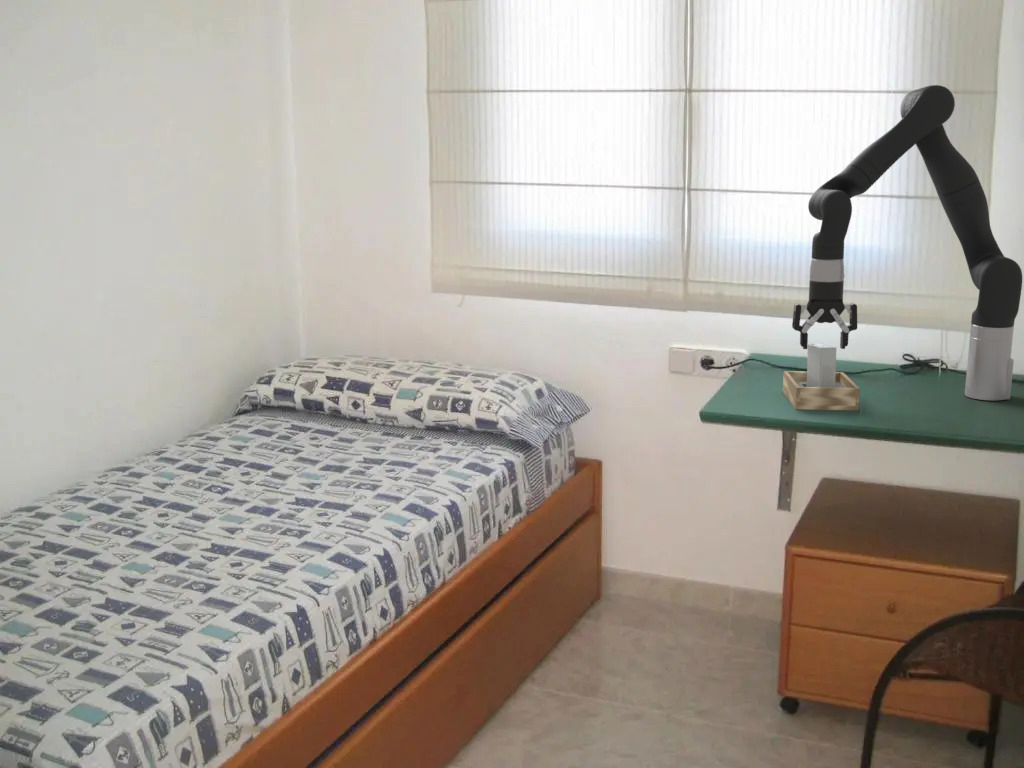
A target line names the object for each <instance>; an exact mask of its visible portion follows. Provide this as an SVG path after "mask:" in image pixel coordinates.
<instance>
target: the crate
mask: <svg viewBox="0 0 1024 768" xmlns="http://www.w3.org/2000/svg"><path fill="white" fill-rule="evenodd" d="M782 393H783V395H784V396H785V397H786V398H787V400H788V401H789V403H790V404H791V405H792V407H793V408H794V410H816V411H817V410H820V411H860V410H859V408H860V393H861V388H860V387H859V386H858V385H857V384H856V383H855V382H854V381H853V380H852V379H851V378H850V377H849V376H848V375H846V373H845V372H843V371H842V372H841V371H836V375H835V388H833V387H807V371H799V370H797V371H796V370H795V371H790V370H787V371H786V370H784V371H783V377H782Z"/></svg>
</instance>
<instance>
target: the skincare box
mask: <svg viewBox="0 0 1024 768" xmlns="http://www.w3.org/2000/svg"><path fill="white" fill-rule="evenodd" d="M806 360H807V363H806V365H807V366H806V372H807V387H833V388H835V375H836V372H837V370H836V368H837V347H836V346H832V345H830V344H827V343H824V342H821V343H820V342H818V343H809V344H807V359H806Z"/></svg>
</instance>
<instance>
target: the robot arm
mask: <svg viewBox="0 0 1024 768" xmlns="http://www.w3.org/2000/svg"><path fill="white" fill-rule="evenodd" d="M955 104H956V101H955V96H954V95H953V92H952V91H950V89H949V88H947V87H945V86H943V85H938V84H936V85H935V84H933V85H928V86H924V87H921V88H918V89H915V90H911V91H909V92H908V93H906V95H905V96H904V97H903V98H902V101H901V104H900V116H901V120H900V121H898V123H896V125H893V127H892V128H891V129H889V130H888V131H887V132H885V133H884V134H883V135H882V136H880V137H879V138H877V139H876V140H875V141H873V142H871V144H870V145H868V146H867V147H866V148H864V149H863V150H862V151H861V152H860V153H859V154H858V155H857V156H856V157H855V158H853V160H852V161H850V163H848V164H847V166H846V167H845V168H844V169H843V170H842V171H841V172H840V173H838V174H836V175H835V176H833V177H832V178H830V179H829V180H827V181H826V182H825V183H823V184H822V185H821V186H820V187H818V188H816V190H814V192H813V193H812V195H811V197H810V198H809V201H808V205H807V207H808V208H807V209H808V211H809V212H808V213H809V215H811V216H812V217H813V218H814V219H816V220H817V221H818V220H819V221H821V226H820V230H819V232H817V233H815V234H814V235H813V237H812V243H811V262H810V267H809V281H808V283H809V284H808V287H809V288H808V302H807V304H802V303H801V304H800V303H798V302H797V303H795V304H794V305H793V315H792V321H791V322H792V324H791V327H792V329H793V330H795V331H797V332H799V334H800V335H799V336H800V337H799V345H800V346H801V347H802V349H804V350H808V342H809V341H808V338H809V334H808V331H809V330H810V329H811V328H812V326H814V325H815V323H818V324H824V323H827V324H833V323H834V322H835V323H836V325H838V327H839V328H840V330H841V331H840V337H839V340H840V341H839V348H840V349H841V350H845V349H846V347H848V345H849V333H850V332H852V331H856V330H857V329H858V306H857V304H856V303H854V302H850V303H845V304H844V283H845V276H846V275H845V261H844V256H845V255H844V254H845V240H846V236H847V234H848V231H849V226H850V222H851V218H852V214H853V213H852V212H853V206H852V198H854V197H855V196H860V195H862V194H864V193H866V192H867V191H868V190H869V189H871V188H872V186H873V185H874V184H875V183H876V182H877V181H878V180H880V178H881V177H883V175H885V173H887V171H888V170H889V169H890V168H891V167H892V166H893V165H894V164H895V163H896V162H897V161H898V160H899V159H900V158H901V157H903V156H904V155H905V154H906V153H907V152H908V151H909V150H911V149H912V147H914V146H916V147H917V149H918V151H919V154H920V155H921V157H922V160H923V162H924V164H925V167H926V169H927V171H928V175H929V176H930V178H931V181H932V183H933V185H934V188H935V191H936V194H937V197H938V200H939V201H940V203H941V207H942V208H943V211H944V212H945V214H946V216H947V218H948V221H949V223H950V226H951V227H952V229H953V232H954V233H955V235H956V237H957V239H958V241H959V243H960V246H961V248H962V251H963V254H964V258H965V260H966V261H965V262H966V264H967V267H968V271H969V275H970V279H971V281H972V283H973V285H974V286H975V287H976V289H977V290H979V292H978V300H977V305H976V308H975V310H973V312H972V314H971V321H970V329H969V330H970V331H969V341H968V342H969V343H968V344H969V345H968V351H967V352H968V353H967V354H968V355H967V364H966V365H967V366H966V375H965V376H966V377H965V385H964V396H966V397H967V398H971V399H975V400H981V401H1005V400H1011V391H1012V381H1013V373H1014V372H1013V371H1014V364H1015V363H1014V359H1013V358H1012V347H1013V338H1014V329H1015V328H1014V327H1015V321H1016V320H1015V319H1016V317H1017V315H1018V314H1019V310H1020V303H1021V296H1022V287H1023V273H1022V268H1021V266H1020V264H1019V263H1018V262H1017V261H1015V260H1014V259H1012V258H1010V257H1007V256H1005V255H1004V253H1003V252H1002V251H1001V248H1000V247H999V245H998V242H997V240H996V239H995V236H994V234H993V231H992V228H991V222H990V212H989V204H988V200H987V196H986V193H985V191H984V189H983V187H982V184H981V181H980V179H979V176H978V175H977V173H976V171H975V169H974V168H973V166H972V165H971V164H970V163H969V161H967V159H966V158H965V157H964V156H963V155H962V154H961V153H960V152H959V151H958V149H956V148H955V146H954V145H953V144H952V142H951V141H950V139H949V137H948V134H947V133H946V132H947V131H946V129H945V127H944V123H946V122H947V121H949V119H950V118H951V117H952V115H953V112H954V111H955V106H956V105H955ZM805 310H806V311H807V312H808V314H809V315H808V317H807V318H806V319H805V321H804V323H803V324H802V325H800V324H801V315H803V314H804V311H805ZM845 310H846V312H847V313H848V314H849V324H848V325H847V324H846V323H845V322H844V320H843V319H842V317H841V314H842V313H843V312H844V311H845Z"/></svg>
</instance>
